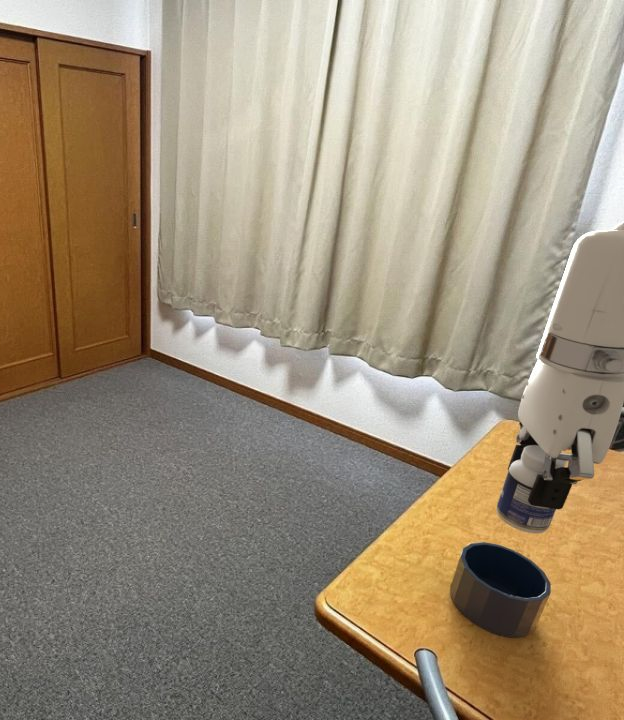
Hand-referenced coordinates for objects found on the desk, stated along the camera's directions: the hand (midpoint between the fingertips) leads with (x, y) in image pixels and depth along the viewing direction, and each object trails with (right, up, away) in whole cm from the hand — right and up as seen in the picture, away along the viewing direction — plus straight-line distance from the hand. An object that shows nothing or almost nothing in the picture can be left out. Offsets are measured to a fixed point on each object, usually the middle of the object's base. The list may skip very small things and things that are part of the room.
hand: (533, 487), depth 57 cm
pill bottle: (0, -5, +2) cm, 5 cm away
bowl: (-1, -17, +6) cm, 18 cm away
